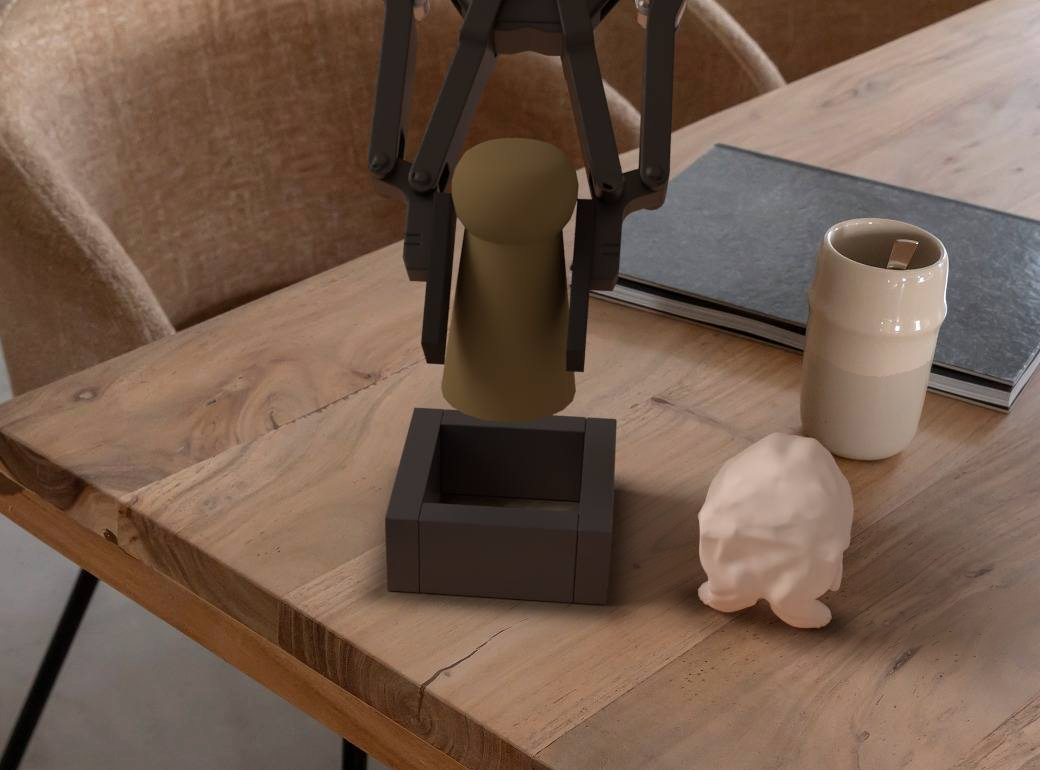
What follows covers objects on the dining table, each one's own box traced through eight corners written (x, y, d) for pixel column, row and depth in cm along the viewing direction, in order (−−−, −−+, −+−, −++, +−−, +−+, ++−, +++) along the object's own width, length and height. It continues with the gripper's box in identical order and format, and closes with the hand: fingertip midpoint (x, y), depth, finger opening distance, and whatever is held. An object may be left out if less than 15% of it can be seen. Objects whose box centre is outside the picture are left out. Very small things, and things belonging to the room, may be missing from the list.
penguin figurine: (700, 459, 59) (752, 356, 69) (676, 636, 64) (728, 515, 73) (859, 488, 57) (890, 378, 67) (823, 668, 62) (856, 540, 72)
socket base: (611, 487, 74) (616, 418, 72) (606, 605, 66) (612, 532, 64) (415, 475, 75) (414, 406, 72) (386, 591, 67) (384, 517, 65)
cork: (420, 407, 64) (418, 162, 58) (469, 348, 69) (472, 114, 62) (551, 433, 63) (564, 183, 56) (592, 370, 67) (609, 133, 60)
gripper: (324, -219, 61) (269, 316, 58) (767, -212, 59) (737, 340, 56) (350, -108, 68) (302, 373, 65) (745, -98, 67) (716, 396, 64)
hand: (503, 357), depth 61 cm, fingers closed on cork, 5 cm apart
